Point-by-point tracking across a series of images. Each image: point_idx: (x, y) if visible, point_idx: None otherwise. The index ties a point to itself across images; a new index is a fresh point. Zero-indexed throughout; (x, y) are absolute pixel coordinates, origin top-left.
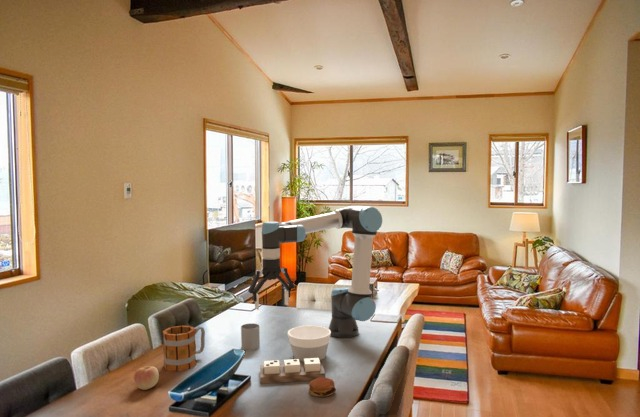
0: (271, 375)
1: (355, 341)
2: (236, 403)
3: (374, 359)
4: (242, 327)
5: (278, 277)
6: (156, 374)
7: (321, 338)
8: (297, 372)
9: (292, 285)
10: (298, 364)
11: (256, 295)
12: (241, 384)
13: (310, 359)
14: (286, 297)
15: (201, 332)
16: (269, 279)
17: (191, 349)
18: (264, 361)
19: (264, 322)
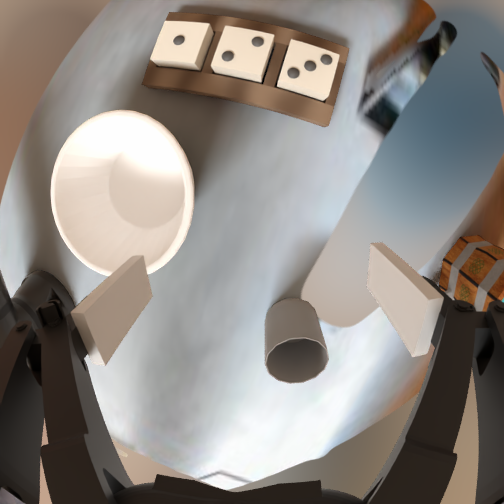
0: (316, 44)
1: (34, 241)
2: (406, 9)
3: (34, 114)
4: (316, 370)
5: (86, 480)
6: None
7: (94, 116)
8: None
9: (15, 336)
10: (229, 27)
11: (434, 302)
12: (389, 76)
13: (178, 51)
14: (118, 290)
15: None
16: (308, 492)
17: (481, 260)
18: (328, 91)
19: (209, 433)
